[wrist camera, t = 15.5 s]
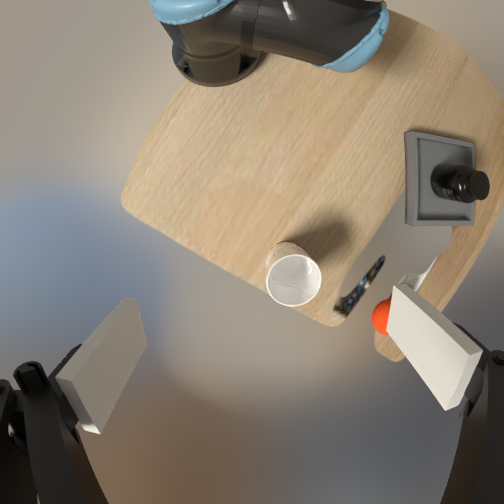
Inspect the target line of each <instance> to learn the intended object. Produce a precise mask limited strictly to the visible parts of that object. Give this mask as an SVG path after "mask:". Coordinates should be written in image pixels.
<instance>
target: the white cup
mask: <svg viewBox="0 0 504 504" xmlns="http://www.w3.org/2000/svg"><path fill="white" fill-rule="evenodd" d="M321 282H322V276H321V271H320V269H319V267H318V265H317V264H316V262H315V261H314V260H313V259H312V258H311V257H310V256H309V255H308V254H307V253H306V252H305V251H304V250H303V249H302V248H301V247H299V246H298V245H296V244H295V243H291V242H282V243H279V244H276V245H275V246H274V247H273V248H272V249H271V250H270V252H269V254H268V256H267V264H266V284H267V289H268V292H269V294H270V295H271V297H272V298H273V299H274V300H275V301H277V302H278V303H280V304H282V305H285V306H300V305H303V304H305V303H307V302H309V301H310V300H311V299H313V298H314V297H315V295H316V294H317V293H318V291H319V289H320V286H321Z"/></svg>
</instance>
